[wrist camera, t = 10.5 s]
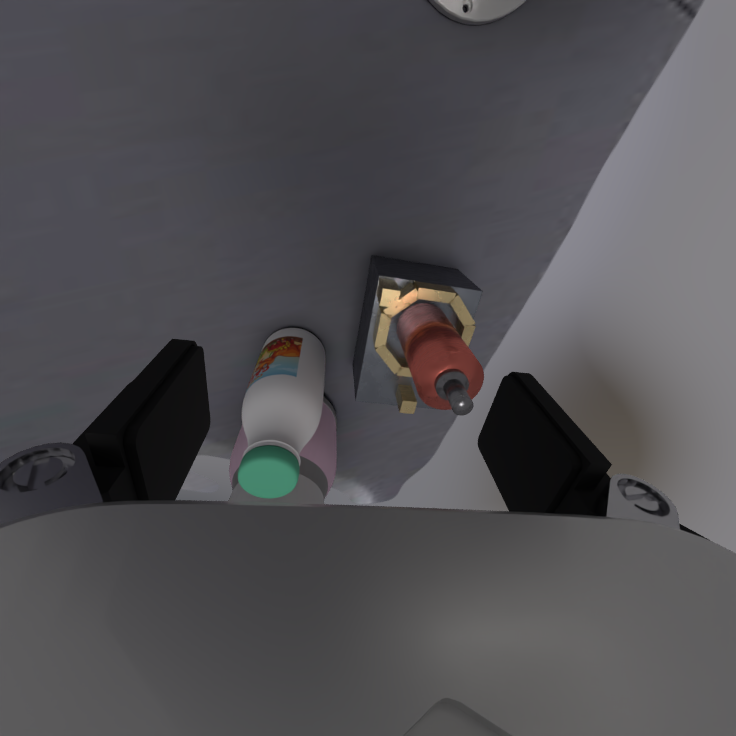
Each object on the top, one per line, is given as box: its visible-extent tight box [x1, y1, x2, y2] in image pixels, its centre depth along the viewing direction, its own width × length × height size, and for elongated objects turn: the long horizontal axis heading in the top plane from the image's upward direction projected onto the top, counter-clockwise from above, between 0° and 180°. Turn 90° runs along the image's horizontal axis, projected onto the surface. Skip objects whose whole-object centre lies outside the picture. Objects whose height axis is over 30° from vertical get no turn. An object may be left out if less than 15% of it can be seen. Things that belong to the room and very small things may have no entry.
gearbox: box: [353, 255, 483, 414], centre depth 38 cm, size 14×11×11 cm
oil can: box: [397, 303, 484, 415], centre depth 29 cm, size 5×5×13 cm
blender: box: [228, 396, 337, 504], centre depth 35 cm, size 16×12×32 cm
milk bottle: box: [238, 328, 326, 499], centre depth 35 cm, size 8×8×20 cm
